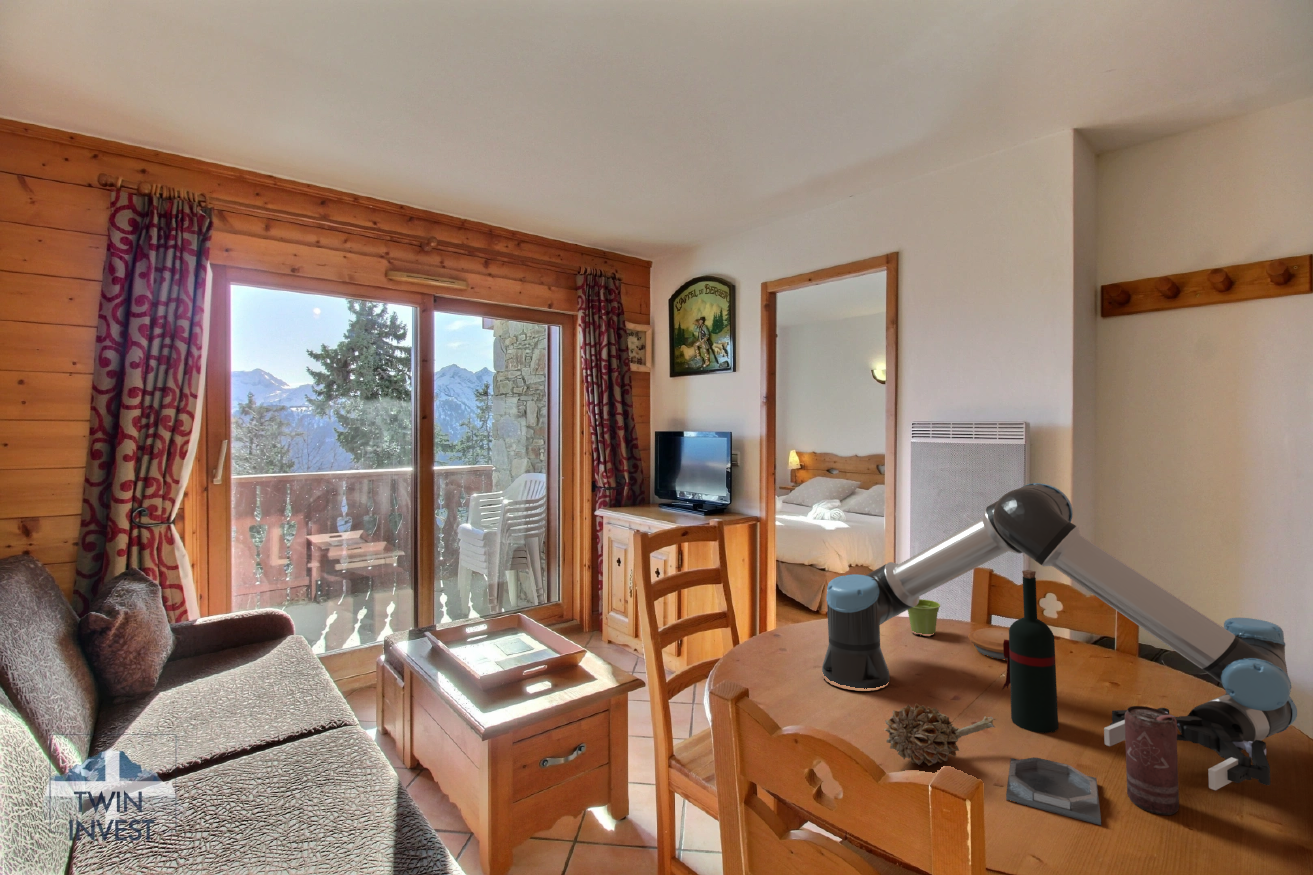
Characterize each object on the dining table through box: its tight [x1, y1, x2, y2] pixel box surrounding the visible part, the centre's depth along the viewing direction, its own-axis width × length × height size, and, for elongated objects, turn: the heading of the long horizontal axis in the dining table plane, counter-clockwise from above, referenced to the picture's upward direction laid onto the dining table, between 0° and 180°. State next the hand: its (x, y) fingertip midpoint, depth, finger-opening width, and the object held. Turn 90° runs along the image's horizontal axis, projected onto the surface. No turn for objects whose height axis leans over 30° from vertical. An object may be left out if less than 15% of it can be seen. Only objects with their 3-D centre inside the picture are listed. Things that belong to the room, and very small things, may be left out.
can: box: [1124, 705, 1180, 816], centre depth 92 cm, size 6×6×14 cm
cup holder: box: [1005, 757, 1102, 826], centre depth 96 cm, size 12×12×2 cm
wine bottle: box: [1001, 569, 1059, 734], centre depth 119 cm, size 8×10×30 cm
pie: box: [967, 627, 1009, 661], centre depth 154 cm, size 16×16×5 cm
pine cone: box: [883, 703, 997, 766], centre depth 107 cm, size 22×10×10 cm, turn 109°
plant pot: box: [907, 598, 941, 634], centre depth 170 cm, size 9×9×9 cm
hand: (1155, 756), depth 91 cm, fingers open, 13 cm apart
